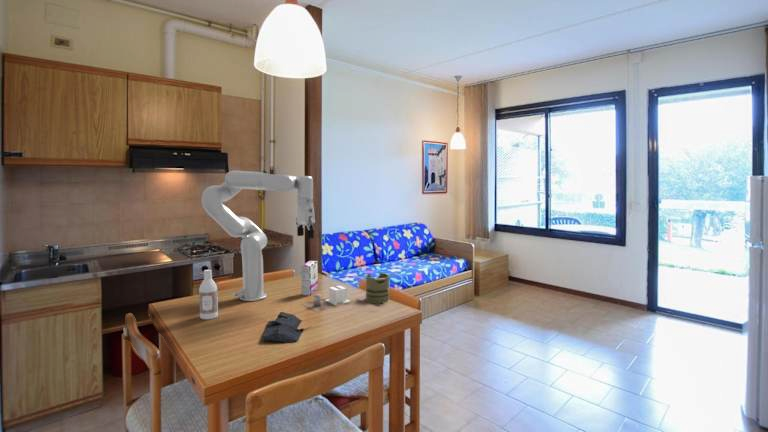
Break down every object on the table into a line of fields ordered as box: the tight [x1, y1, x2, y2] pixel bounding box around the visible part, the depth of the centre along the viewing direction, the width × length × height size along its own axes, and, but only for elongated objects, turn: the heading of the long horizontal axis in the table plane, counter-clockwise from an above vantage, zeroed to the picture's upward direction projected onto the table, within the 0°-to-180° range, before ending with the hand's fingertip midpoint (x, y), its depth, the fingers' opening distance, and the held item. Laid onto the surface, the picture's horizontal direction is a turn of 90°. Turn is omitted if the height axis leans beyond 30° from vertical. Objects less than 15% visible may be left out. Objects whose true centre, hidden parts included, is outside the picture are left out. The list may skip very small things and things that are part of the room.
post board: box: [300, 293, 357, 313], centre depth 179 cm, size 22×14×6 cm, turn 130°
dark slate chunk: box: [261, 311, 305, 344], centre depth 149 cm, size 15×22×5 cm
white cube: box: [328, 285, 348, 303], centre depth 182 cm, size 6×6×6 cm
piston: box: [365, 272, 390, 304], centre depth 189 cm, size 11×12×11 cm
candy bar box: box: [300, 260, 319, 296], centre depth 196 cm, size 11×5×16 cm, turn 170°
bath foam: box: [198, 269, 219, 321], centre depth 162 cm, size 7×7×20 cm
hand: (305, 236), depth 189 cm, fingers open, 9 cm apart
